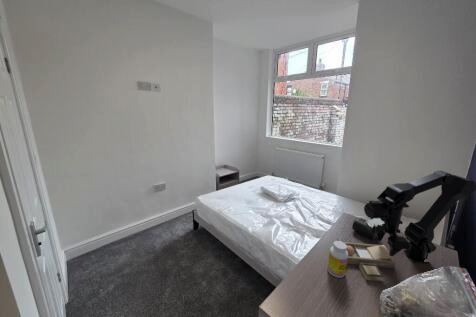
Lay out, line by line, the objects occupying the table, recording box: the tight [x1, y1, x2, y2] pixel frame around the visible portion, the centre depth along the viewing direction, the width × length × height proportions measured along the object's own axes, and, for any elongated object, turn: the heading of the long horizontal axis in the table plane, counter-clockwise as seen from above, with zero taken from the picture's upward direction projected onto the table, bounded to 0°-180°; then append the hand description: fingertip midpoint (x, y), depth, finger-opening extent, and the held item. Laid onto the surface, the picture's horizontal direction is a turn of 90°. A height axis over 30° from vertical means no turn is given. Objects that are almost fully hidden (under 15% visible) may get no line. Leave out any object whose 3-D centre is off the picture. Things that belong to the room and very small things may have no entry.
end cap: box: [351, 218, 377, 241], centre depth 102 cm, size 10×7×7 cm
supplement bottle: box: [326, 240, 349, 278], centre depth 79 cm, size 7×7×13 cm
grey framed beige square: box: [358, 263, 384, 282], centre depth 79 cm, size 6×6×2 cm
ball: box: [347, 245, 355, 256], centre depth 88 cm, size 4×4×4 cm
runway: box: [336, 237, 397, 269], centre depth 87 cm, size 19×10×5 cm, turn 81°
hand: (384, 248), depth 85 cm, fingers open, 9 cm apart
